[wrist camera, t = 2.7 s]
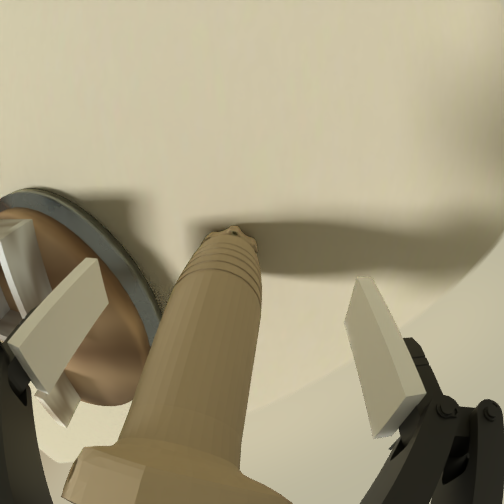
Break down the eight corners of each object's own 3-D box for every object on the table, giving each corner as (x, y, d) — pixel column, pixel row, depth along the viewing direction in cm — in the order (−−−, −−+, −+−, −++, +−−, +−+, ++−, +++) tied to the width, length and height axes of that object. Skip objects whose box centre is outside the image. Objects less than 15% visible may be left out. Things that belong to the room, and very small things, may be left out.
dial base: (-33, 196, 16) (-43, 202, 15) (146, 181, 15) (135, 188, 14) (30, 360, 26) (24, 368, 25) (183, 404, 25) (180, 417, 24)
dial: (-36, 210, 15) (-77, 237, 10) (123, 204, 15) (60, 253, 9) (27, 363, 24) (5, 396, 19) (169, 408, 24) (155, 459, 18)
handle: (297, 234, 16) (341, 543, 3) (231, 303, 19) (188, 542, 5) (231, 182, 15) (83, 504, 2) (171, 261, 18) (55, 494, 4)
